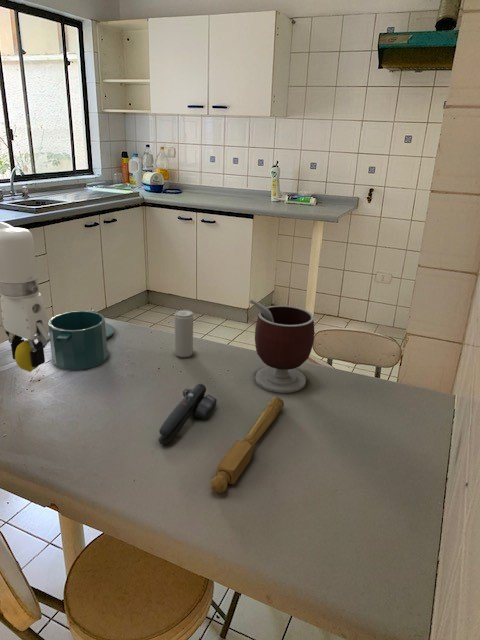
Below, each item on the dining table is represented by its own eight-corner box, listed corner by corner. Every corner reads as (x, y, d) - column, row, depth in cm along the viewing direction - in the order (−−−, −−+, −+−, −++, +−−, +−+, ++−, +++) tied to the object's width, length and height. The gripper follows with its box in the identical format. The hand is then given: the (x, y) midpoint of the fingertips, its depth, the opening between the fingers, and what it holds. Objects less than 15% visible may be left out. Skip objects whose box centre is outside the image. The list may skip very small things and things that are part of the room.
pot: (38, 373, 112) (32, 333, 108) (70, 341, 129) (66, 305, 125) (92, 377, 111) (89, 337, 107) (117, 344, 128) (115, 308, 124)
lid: (53, 343, 127) (50, 321, 125) (72, 323, 140) (70, 302, 138) (105, 346, 127) (103, 324, 124) (119, 326, 140) (118, 305, 137)
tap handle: (285, 398, 100) (223, 484, 75) (284, 410, 101) (223, 499, 76) (272, 394, 101) (207, 478, 76) (271, 406, 103) (206, 493, 77)
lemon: (23, 380, 104) (19, 348, 101) (13, 370, 107) (8, 339, 104) (47, 372, 108) (44, 341, 105) (36, 363, 111) (32, 333, 108)
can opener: (193, 398, 104) (193, 376, 102) (220, 406, 101) (221, 384, 99) (145, 441, 89) (144, 416, 87) (175, 452, 87) (175, 427, 84)
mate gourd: (309, 369, 119) (318, 296, 111) (307, 397, 106) (316, 317, 99) (250, 362, 121) (254, 290, 114) (241, 389, 109) (245, 310, 101)
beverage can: (171, 354, 124) (170, 313, 119) (183, 348, 127) (183, 308, 123) (184, 360, 121) (184, 317, 117) (196, 353, 125) (197, 312, 120)
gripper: (61, 290, 99) (68, 365, 106) (8, 274, 106) (18, 345, 113) (31, 300, 93) (41, 378, 100) (-23, 282, 100) (-10, 357, 107)
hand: (28, 360), depth 107 cm, fingers closed on lemon, 5 cm apart
